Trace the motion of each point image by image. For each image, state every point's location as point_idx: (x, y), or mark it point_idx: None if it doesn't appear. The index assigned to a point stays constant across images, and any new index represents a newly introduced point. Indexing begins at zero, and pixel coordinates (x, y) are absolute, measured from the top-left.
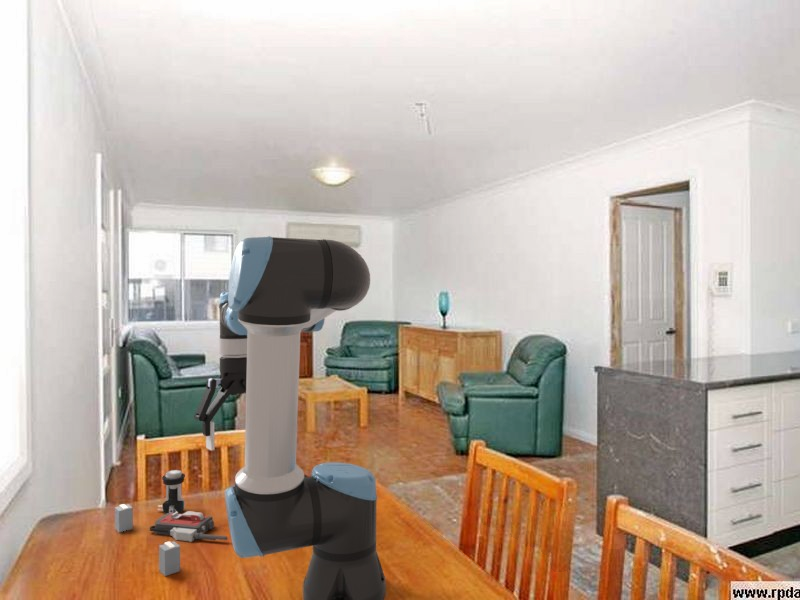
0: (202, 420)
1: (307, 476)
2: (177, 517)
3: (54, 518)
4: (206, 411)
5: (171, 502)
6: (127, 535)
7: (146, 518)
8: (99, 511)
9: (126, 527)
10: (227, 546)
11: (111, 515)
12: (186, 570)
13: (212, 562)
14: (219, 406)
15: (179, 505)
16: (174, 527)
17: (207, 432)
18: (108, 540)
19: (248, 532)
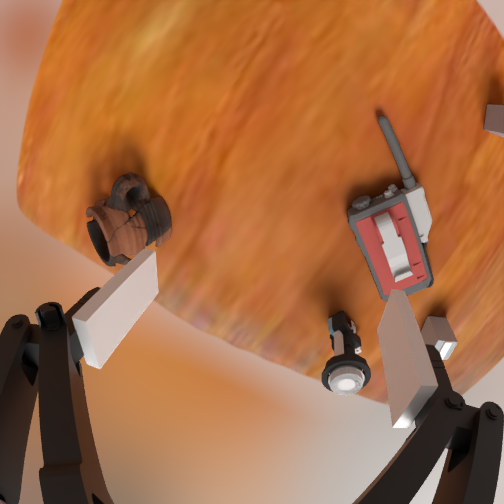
0: (483, 404)
1: (87, 208)
2: (405, 262)
3: None
4: (477, 446)
5: (355, 335)
6: (448, 299)
7: None
8: None
9: (438, 320)
10: (386, 103)
11: None
12: (480, 96)
13: (440, 77)
14: (396, 472)
15: (344, 322)
16: (421, 240)
17: (431, 357)
18: (470, 304)
19: None
